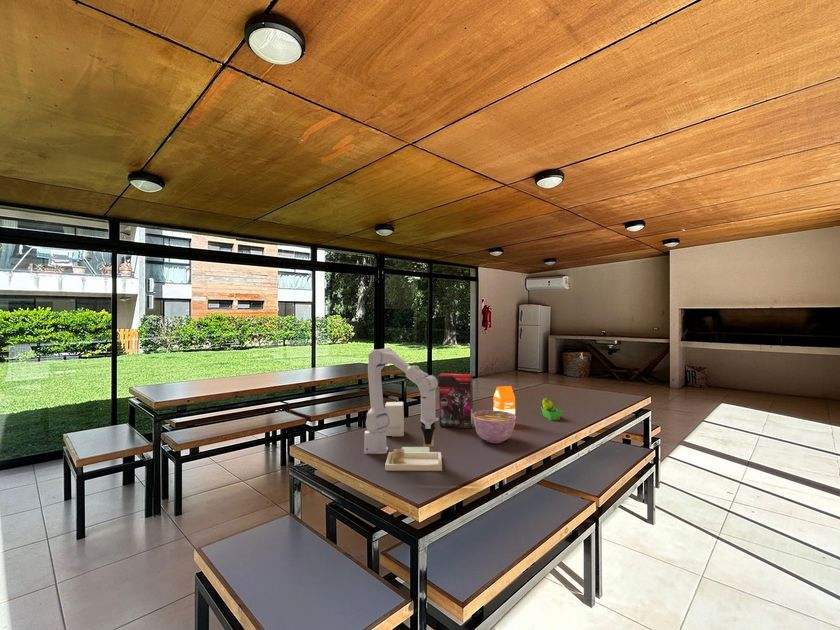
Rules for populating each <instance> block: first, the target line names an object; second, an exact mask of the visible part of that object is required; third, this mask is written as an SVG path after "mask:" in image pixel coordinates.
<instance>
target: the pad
mask: <svg viewBox="0 0 840 630" xmlns="http://www.w3.org/2000/svg"><path fill="white" fill-rule="evenodd" d="M401 449H404V452H431V451H430V447H423V446H401Z"/></svg>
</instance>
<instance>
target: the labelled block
mask: <svg viewBox="0 0 840 630" xmlns="http://www.w3.org/2000/svg"><path fill="white" fill-rule="evenodd" d="M434 432H435V431H434ZM434 432H433V436H432V442H431V444H425V439H424V434H423V433H422V440H423V441H422V442H423V443H422V445H423V446H422V447H429V448H430V447H433V448H434V442H435V441H434V435H435V433H434Z"/></svg>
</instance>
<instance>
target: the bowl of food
mask: <svg viewBox="0 0 840 630" xmlns="http://www.w3.org/2000/svg"><path fill="white" fill-rule="evenodd" d="M516 421H517V416H516V414H515V415H514V414H512V413H509V412H504V411H494V410H490V409H489V410H480V411H479V410H478V411H475V412H473V425H474V428H475V432H476V434H477V435H478V437H479V438H481V439H482V440H484V441H485V440H486V441H485V442H486V443H489V442H490V443H491V444H501V443H503V442H504V441H505V442H506V440H508V439H510V438H511V436H512V435H513V432H514V428H515V426H516Z"/></svg>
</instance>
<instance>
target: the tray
mask: <svg viewBox="0 0 840 630" xmlns="http://www.w3.org/2000/svg"><path fill="white" fill-rule="evenodd" d="M442 459H443V458H442V452H441V451H430V452H404V464H393V451H389V452H387V456H386V461H385V464H384V470H385V471H390V472H391V471H393V472H394V471H403V472H404V471H411V472H412V471H415V472H416V471H421V472H423V471H426V472H429V471H434V472H435V471H437V472H438V471H440V472H441V471H443V461H442Z"/></svg>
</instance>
